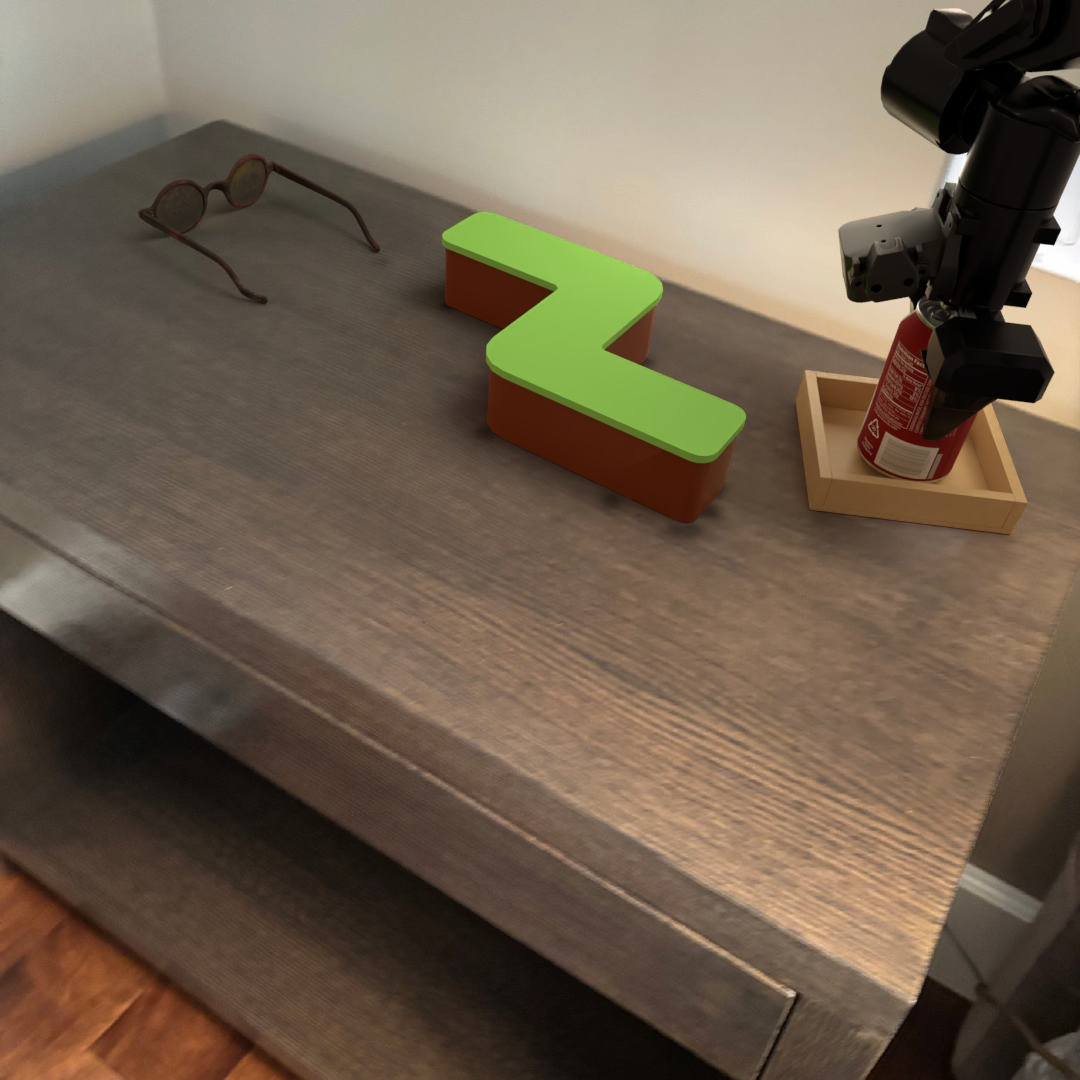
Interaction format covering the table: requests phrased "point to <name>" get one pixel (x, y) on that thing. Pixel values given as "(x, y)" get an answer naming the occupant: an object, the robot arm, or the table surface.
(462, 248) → the planter
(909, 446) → the soda can
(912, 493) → the tray
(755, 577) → the table surface
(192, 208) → the eyeglasses
